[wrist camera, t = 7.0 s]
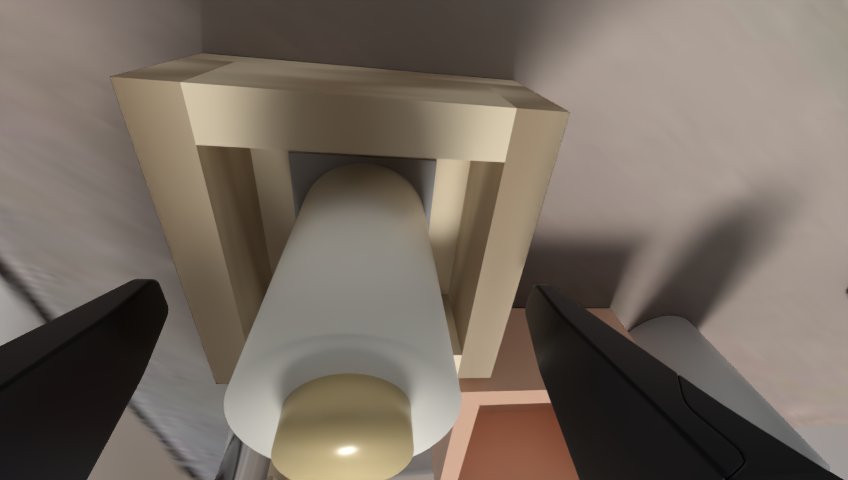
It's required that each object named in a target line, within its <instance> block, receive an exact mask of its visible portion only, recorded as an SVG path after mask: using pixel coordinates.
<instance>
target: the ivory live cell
mask: <svg viewBox="0 0 848 480" xmlns="http://www.w3.org/2000/svg"><path fill="white" fill-rule="evenodd" d="M461 402H462V401H461V391H460V386H459V381H458V376H457V371H456V366H455V361H454V356H453V351H452V346H451V341H450V336H449V331H448V326H447V321H446V316H445V311H444V306H443V301H442V296H441V291H440V286H439V281H438V276H437V271H436V266H435V261H434V257H433V252H432V247H431V242H430V237H429V232H428V227H427V222H426V217H425V212H424V207H423V204H422V201H421V198H420V196H419V194H418V193H417V191H416V189H415V188H414V187H413V186H412V185H411V183H410V182H409V181H407V180H406V179H405V178H404V177H403V176H401V175H400V174H398V173H397V172H395V171H393V170H391V169H389V168H386V167H383V166H380V165H376V164H369V163H353V164H347V165H343V166H339V167H337V168H334V169H332V170H330V171H328V172H327V173H325V174H324V175H322V176H321V177H320V178H319V179H318V180H317V181H316V182H315V183H314V184H313V185H312V186H311V188H310V189H309V191H308V193H307V195H306V197H305V200H304V202H303V204H302V207H301V209H300V212H299V214H298V217H297V219H296V221H295V224H294V226H293V229H292V231H291V234H290V236H289V239H288V241H287V243H286V246H285V248H284V251H283V253H282V256H281V258H280V260H279V263H278V265H277V268H276V270H275V273H274V275H273V278H272V280H271V282H270V285H269V287H268V290H267V292H266V295H265V297H264V299H263V302H262V304H261V307H260V309H259V312H258V314H257V317H256V319H255V321H254V324H253V326H252V329H251V331H250V334H249V336H248V338H247V341H246V343H245V346H244V348H243V351H242V353H241V356H240V358H239V360H238V363H237V365H236V368H235V370H234V373H233V375H232V378H231V380H230V382H229V385H228V387H227V390H226V394H225V397H224V412H225V416H226V419H227V422H228V424H229V426H230V428H231V429H232V430H233V432H234V433H235V434H236V436H237V437H238V438H239V439H240V440H241V441H242V442H243V443H245V444H246V445H247V446H249V447H250V448H252V449H253V450H255V451H256V452H258V453H260V454H262V455H264V456H266V457H268V458H270V459H271V460H272V462H273V465H274V466H275V468H276V469H277V470H278V471H279V472H280V473H281V474H283V475H284V476H285V477H287V478H289V479H291V480H387V479H389V478H391V477H393V476H394V475H396V474H398V473H399V472H401V471H402V470H403V469H404V468H405V467H406V466H407V465H408V464H409V462H410V461H411V459H412V457H413V456H415V455H417V454H420V453H422V452H423V451H425V450H427V449H428V448H430V447H432V446H433V445H434V444H436V443H437V442H438V441H440V440H441V439H442V438H443V437H444V436H445V435H446V434H447V433H448V432H449V430H450V429H451V428H452V427H453V425H454V423H455V422H456V420H457V418H458V415H459V413H460V409H461Z"/></svg>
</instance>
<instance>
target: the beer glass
mask: <svg viewBox="0 0 848 480" xmlns="http://www.w3.org/2000/svg"><path fill="white" fill-rule="evenodd" d="M215 480H291V479H289V478H287V477H285V476H284V475H283V474H281V473H280V472H279V471H278V470H277V469H276V468H275V466H274V465H273V462H272V460H271V459H270V458H268V457H266V456H264V455H262V454H260V453H258V452H256V451H255V450H253V449H252V448H250V447H249V446H247V445H246V444H245V443H243V442H242V441H241V440H240V439H239V438H238V437H237V436H236V434H235V433H234V432H233V430H232V429H231V428H230V426H229V427H228V433H227V439H226V444H225V448H224V453H223V457H222V460H221V463H220V466H219V469H218V472H217V475H216V477H215Z"/></svg>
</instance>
